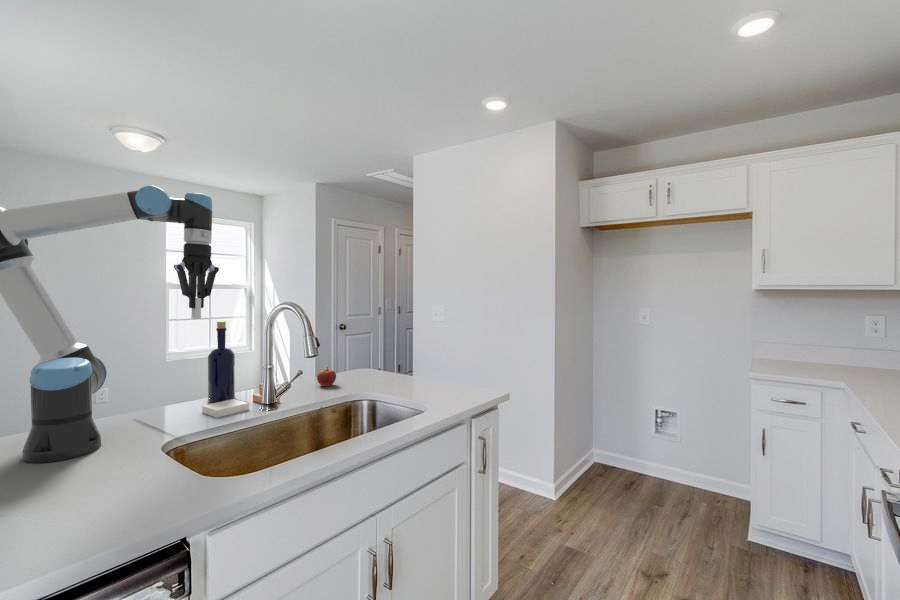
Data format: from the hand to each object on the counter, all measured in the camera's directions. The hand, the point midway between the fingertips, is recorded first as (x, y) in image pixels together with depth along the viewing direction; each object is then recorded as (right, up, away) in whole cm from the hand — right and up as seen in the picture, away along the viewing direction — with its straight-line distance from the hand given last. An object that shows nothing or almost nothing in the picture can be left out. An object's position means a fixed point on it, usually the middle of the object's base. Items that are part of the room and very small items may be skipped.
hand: (196, 318), depth 136 cm
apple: (+26, -32, +52) cm, 66 cm away
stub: (+13, -31, +21) cm, 40 cm away
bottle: (-4, -32, +22) cm, 39 cm away
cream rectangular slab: (+5, -32, +9) cm, 33 cm away
